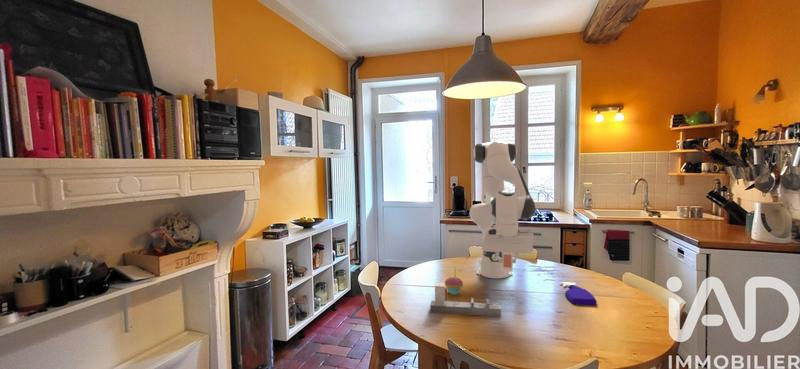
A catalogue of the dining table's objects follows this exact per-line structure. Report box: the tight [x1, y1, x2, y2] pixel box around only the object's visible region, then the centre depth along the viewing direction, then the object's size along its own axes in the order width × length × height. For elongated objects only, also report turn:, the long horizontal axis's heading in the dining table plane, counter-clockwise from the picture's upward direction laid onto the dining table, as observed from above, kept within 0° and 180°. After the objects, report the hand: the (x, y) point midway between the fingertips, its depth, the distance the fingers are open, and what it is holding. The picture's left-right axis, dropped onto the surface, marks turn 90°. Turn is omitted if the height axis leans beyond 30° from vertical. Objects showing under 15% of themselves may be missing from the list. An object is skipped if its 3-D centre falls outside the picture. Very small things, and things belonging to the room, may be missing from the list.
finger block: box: [502, 252, 514, 273], centre depth 140 cm, size 4×5×8 cm
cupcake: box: [444, 266, 464, 296], centre depth 159 cm, size 9×8×12 cm
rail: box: [429, 282, 502, 317], centre depth 138 cm, size 5×28×11 cm, turn 79°
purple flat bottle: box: [558, 281, 598, 306], centre depth 154 cm, size 3×11×24 cm
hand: (507, 262), depth 141 cm, fingers closed on finger block, 4 cm apart
